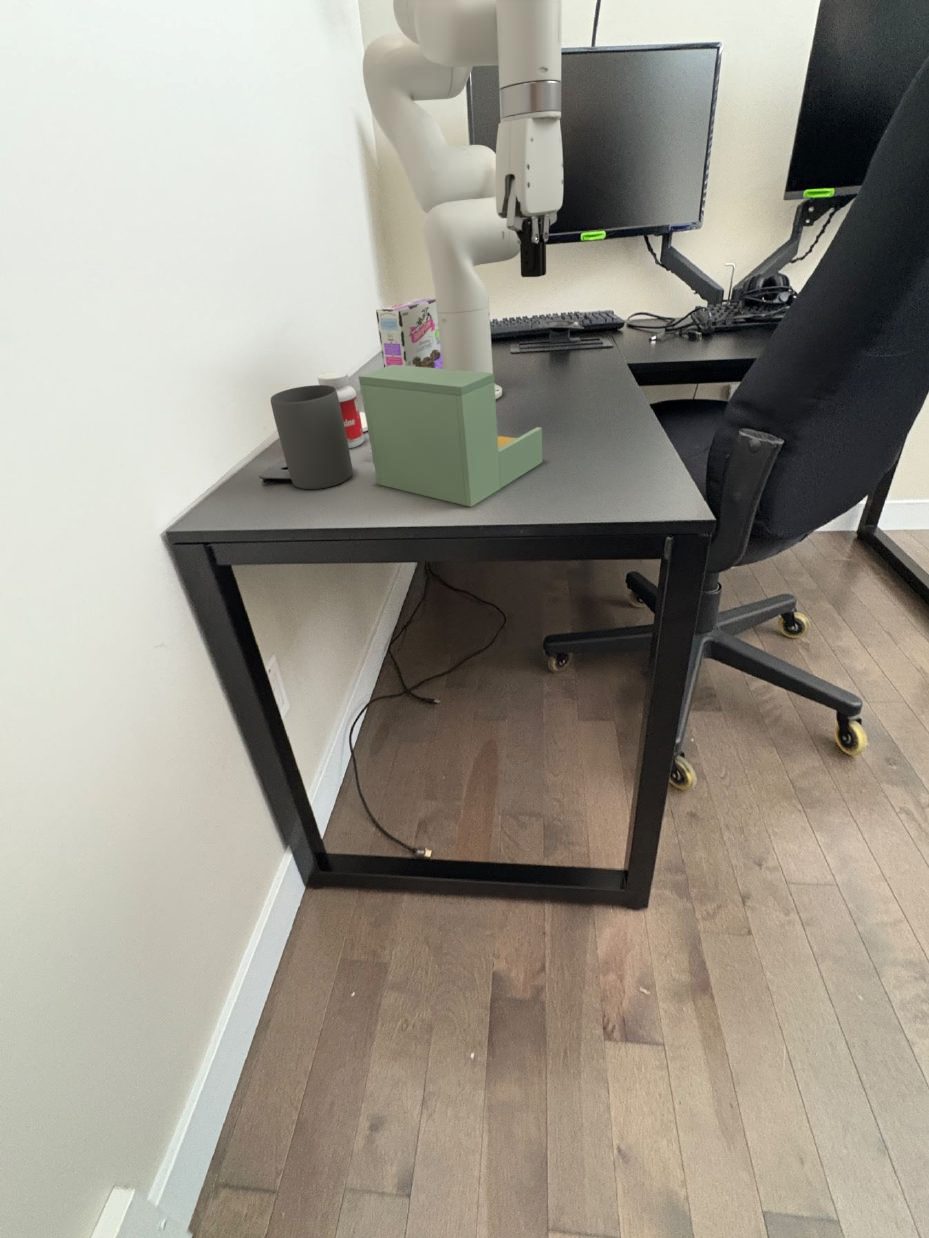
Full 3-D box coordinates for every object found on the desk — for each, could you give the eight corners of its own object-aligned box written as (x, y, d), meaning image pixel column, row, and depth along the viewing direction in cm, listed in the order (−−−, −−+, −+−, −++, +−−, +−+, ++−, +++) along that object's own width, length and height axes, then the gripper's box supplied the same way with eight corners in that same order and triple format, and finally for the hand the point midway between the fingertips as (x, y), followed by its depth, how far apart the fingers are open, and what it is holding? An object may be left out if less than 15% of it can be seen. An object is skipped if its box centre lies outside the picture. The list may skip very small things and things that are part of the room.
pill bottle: (325, 452, 98) (309, 381, 91) (330, 440, 103) (316, 372, 96) (362, 448, 97) (349, 377, 91) (366, 436, 103) (354, 368, 96)
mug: (366, 474, 88) (350, 389, 81) (313, 495, 83) (291, 406, 76) (315, 457, 96) (297, 378, 89) (265, 475, 91) (241, 393, 84)
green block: (452, 446, 94) (442, 347, 86) (542, 462, 85) (541, 353, 77) (377, 484, 84) (358, 376, 76) (471, 507, 75) (460, 387, 67)
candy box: (410, 401, 119) (398, 309, 109) (387, 399, 122) (373, 309, 112) (448, 383, 128) (440, 297, 119) (426, 382, 131) (416, 297, 122)
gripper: (537, 113, 81) (539, 269, 91) (469, 110, 72) (480, 284, 82) (587, 104, 77) (583, 268, 87) (522, 99, 68) (526, 284, 78)
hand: (533, 276), depth 85 cm, fingers closed
